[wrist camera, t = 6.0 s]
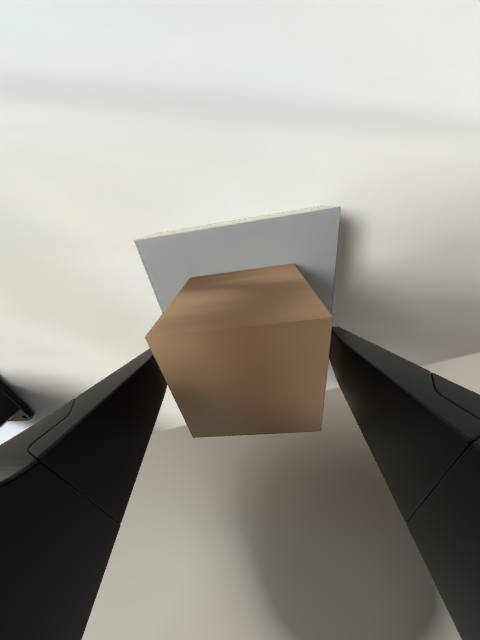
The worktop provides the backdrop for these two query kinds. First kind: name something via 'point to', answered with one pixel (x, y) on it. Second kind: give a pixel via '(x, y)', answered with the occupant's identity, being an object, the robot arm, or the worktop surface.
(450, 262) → the worktop surface
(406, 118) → the worktop surface
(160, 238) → the base
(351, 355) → the robot arm
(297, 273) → the walnut cube
